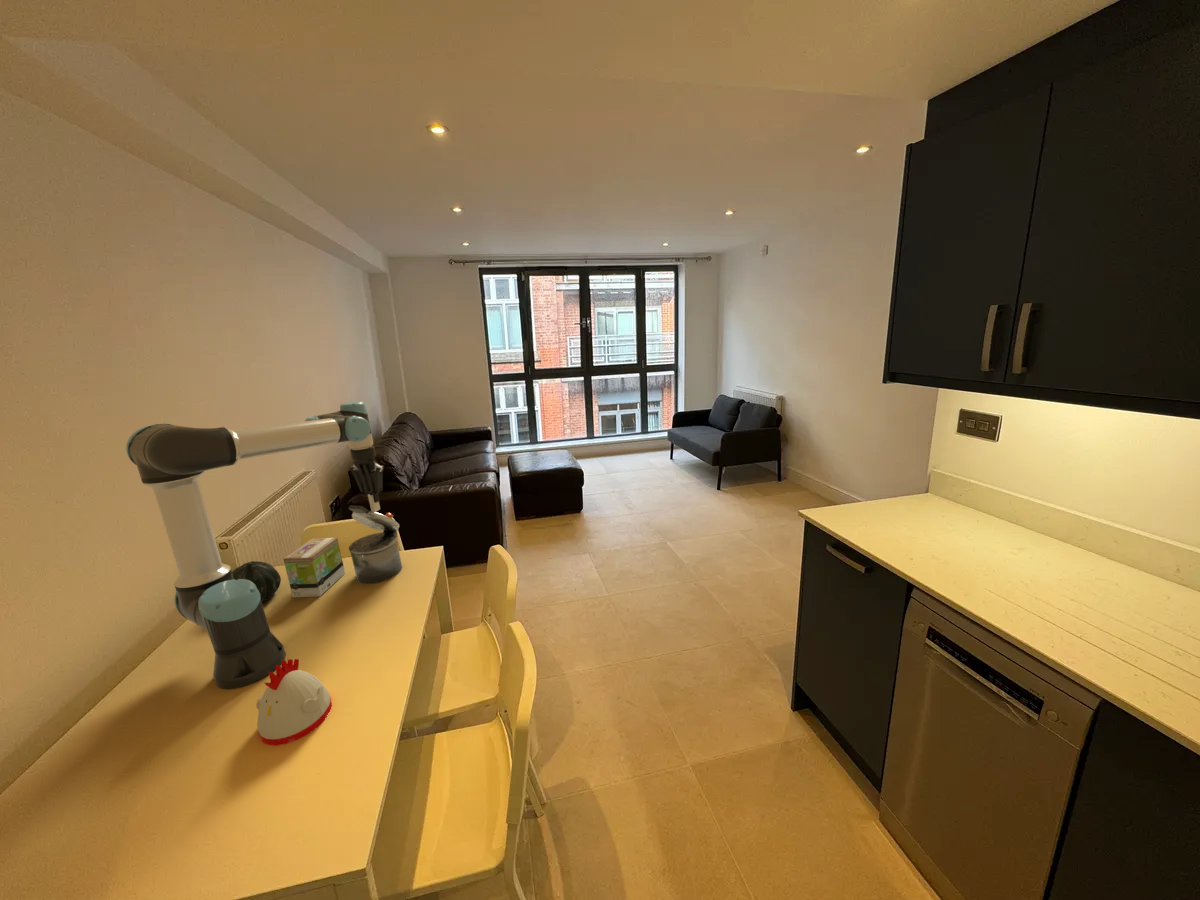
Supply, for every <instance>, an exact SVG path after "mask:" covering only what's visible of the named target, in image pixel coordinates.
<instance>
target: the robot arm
mask: <svg viewBox="0 0 1200 900" xmlns="http://www.w3.org/2000/svg"><path fill="white" fill-rule="evenodd" d="M339 409H340V410H338V411H334V412H329V413H325V414H324V413H323V414H317V415H314V416H311V417H307V418H305V420H303V421H297V422H289V423H279V424H272V425H264V426H256V427H250V428H240V429H230V428H229V427H228V428H227V427H226V426H221V427H213V428H211V427H210V428H209V427H207V428H206V427H204V428H202V427H190V426H182V425H175V424H171V423H156V424H149V425H146V426H142V427H141V428H139V429H137V430H136V431H134V432H133V433H132V434H131V436H129V437H128V440H127V442H126V444H125V445H126V446H125V451H126V455H127V457H128V458H129V460H130V461H131V462H132V464H133V465H135V466H136V467H137V471H138V474H139V477H140V479H141V483H142V485H144V486H147V487H149V488H151V489H152V490H153V492H154V496H155V500H156V502H157V506H158V508H159V511H160V516H161V517H162V522H163V525H164V528H165V531H166V534H167V535H166V536H167V539H168V541H169V544H170V548H171V550H172V554H173V557H174V561H175V563H176V567H177V569H178V574H179V576H178V577H177V579H175V581H174V585H173V586H174V588H175V591H176V592H175V594H174V598H173V599H174V606H175V609H176V610H177V612H178V613H179V614H180V615H181V617H183V618H184V619H187V620H189V621H190V622H192V623H194V624H196V625H197V626H199V627H200V628H202V629H203V630H206V632H207V634H208V637H209V640H210V643H211V645H212V648H213V651H214V654H215V655H214V663H213V664H214V665H213V674H212V676H213V680H214V682H215V685H216V686H217V687H218V688H220V689H225V690H230V689H237V688H242V687H245V686H248V685H251V684H253V683H256V682H258V681H259V680H262V679H263V678H265V677H266V676H269V672H272V673H274V671H276V665H280V666H281V660H285V659H286V653H287V652H286V650H285V647H284V645H283V643H282V642H281V641H280V640H279V639H278V638H277V637H276V636H275V635H274V634H273V632H272V631H271V629H270V626H269V623H268V620H267V616H266V613H265V608H264V606H263V602H261V598H260V593H259V591H258V589H257V587H256V585H255V584H254V583H253V582H251V581H249V580H245V579H238V580H235V579H234V578H233V574H232V571H233V570H232V567H231V565H230V564H225V563H223V562H222V560H221V559H222V558H221V555H220V552H219V549H218V545H217V541H216V537H215V535H214V530H213V527H212V523H211V520H210V519H211V518H210V515H209V513H208V510H207V506H206V502H205V499H204V498H205V497H204V495H203V491H202V488H201V485H200V478H201V477H202V476H203V475H204V473H205V472H206V471H210V470H214V469H219V468H225V467H231V466H234V465H236V464H237V462H238V461H240V460H246V459H251V458H256V457H262V456H270V455H274V454H280V453H286V452H292V451H297V450H303V449H310V448H314V447H319V446H324V445H325V446H326V445H331V444H339V443H343V442H344V443H345V442H347V444H348V448H349V449H350V450H349V451H350V455H351V459H352V460H353V464H352V465H351V466H350V467H348V468H349V471H350V472H351V473H352V475H353V477H354V480H355V481H356V484H357V487H358V489H359V491H360V493H364V494H365V495H366V499H367V502H368V503H369V506H370V511H373V512H376V513H377V512H378V511H379V510H381V505H380V495H379V493H380V492H382V491H383V489H384V488H383V485H384V483H383V481H384V479H383V478H384V477H383V475H384V474H383V471H384V469H385V466H384V465H380V464H379V463H378V461H377V459H376V456H377V453H376V449H375V445H374V439H373V434H372V430H371V424H370V420H369V416H368V415H369V414H368V410H367V408H366V404H365V403H364V402H363V401H348V402H344V403H341V404H340V406H339Z"/></svg>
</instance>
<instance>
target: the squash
mask: <svg viewBox="0 0 1200 900" xmlns="http://www.w3.org/2000/svg"><path fill="white" fill-rule="evenodd" d="M231 571H232V574H233V578H234V579H235V580H238V579H245V580H249V581H251V582H253V583H254V584H255V585H256V587H257V589H258V591H259V593H260V598H261V602H262V603H264V602H265V601H267V600H268V601H269V600H270V599H272V597H273V596H274V595H275V593H276V592H278V590H279V587H280V586H281V584H282V583H281V582H282V578H281V575H280V573H279V572H278V570H277V569H276V568H275V567H274V566H273V564H270V563H267V562H264V561H256V560H252V561H248V562H245V563H244V564H241V565H240V566H238V567H236V568H234V570H231Z"/></svg>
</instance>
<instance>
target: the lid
mask: <svg viewBox="0 0 1200 900" xmlns="http://www.w3.org/2000/svg"><path fill="white" fill-rule="evenodd" d="M348 510H349V511H351V512H352V514H351V518H352V519H353V520H354V521H356V522H357V523H358V524H361V525H362V526H365V527H368V528H370V529H372V530H373V529H374V530H377V531H382V532H396V531H397V532H398V531H399V528H400V523H399V522H397V521H396V520H395V519H393V517H394V514H392V513H390V512H385V513H386V514H385V515H384V514H382V513H379V512H377V511H376V512H373V511H371V510H368V509H367V508H366V507H364V506H362V505H353V504H351V505H349V506H348Z"/></svg>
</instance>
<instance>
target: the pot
mask: <svg viewBox="0 0 1200 900" xmlns="http://www.w3.org/2000/svg"><path fill="white" fill-rule="evenodd" d="M398 537H399V536H398V530H397V531H396V532H384V531H382V532H377V533H371V534H368V535H365V536H363V537H359V538H358V539H355V541H353V542H352V543H350V545H349V546H348V553H350V555H351V560H352V561H351V562H352V565H353V569H354V572H355V577H356V580H357V582H358V581H359V582H358V583H359V584H364V583H365V584H367V585H370V584H377V583H381V582H384V581H387V580H390V579H392V578H394V577H396V575H398V574H399V573H400V572H401V571H402V570H403V565H402V559H401V555H400V549H399V543H398ZM365 584H364V585H365Z"/></svg>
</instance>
